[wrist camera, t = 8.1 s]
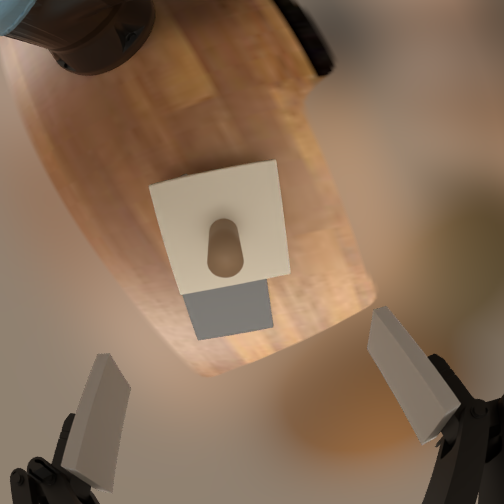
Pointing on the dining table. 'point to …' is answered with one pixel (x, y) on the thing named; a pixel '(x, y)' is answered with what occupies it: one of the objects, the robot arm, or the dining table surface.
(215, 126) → the dining table surface
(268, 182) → the lid
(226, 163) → the dining table surface
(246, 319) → the mat
